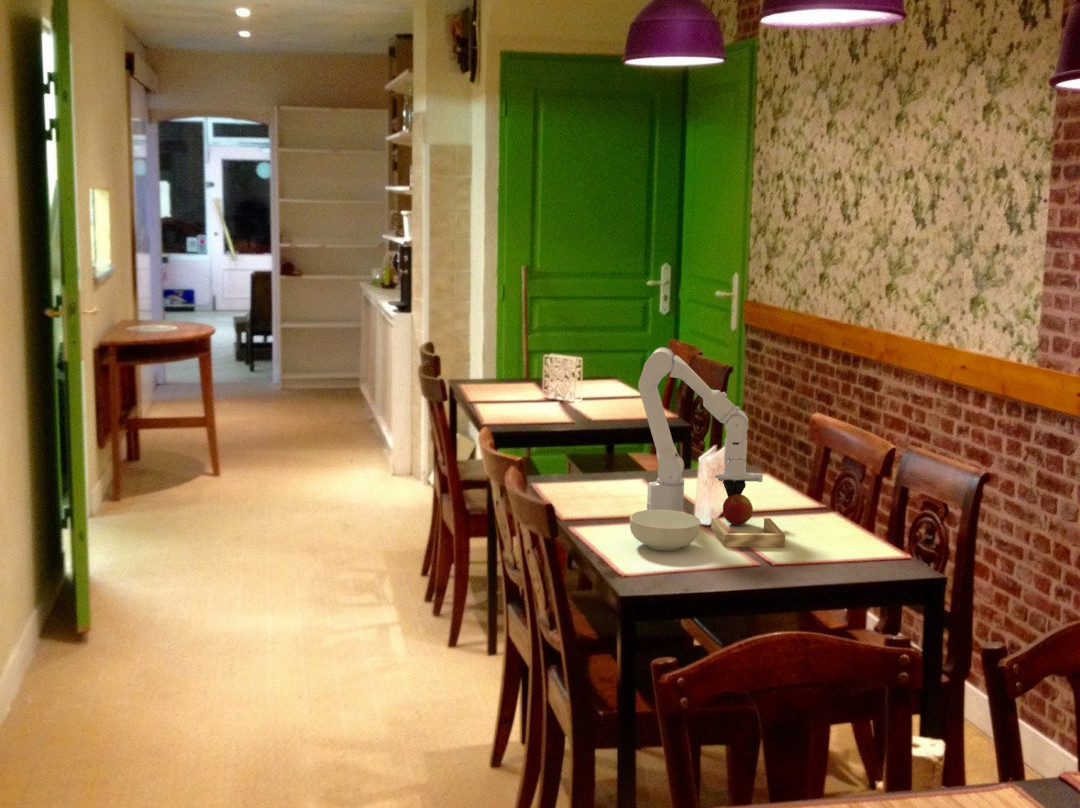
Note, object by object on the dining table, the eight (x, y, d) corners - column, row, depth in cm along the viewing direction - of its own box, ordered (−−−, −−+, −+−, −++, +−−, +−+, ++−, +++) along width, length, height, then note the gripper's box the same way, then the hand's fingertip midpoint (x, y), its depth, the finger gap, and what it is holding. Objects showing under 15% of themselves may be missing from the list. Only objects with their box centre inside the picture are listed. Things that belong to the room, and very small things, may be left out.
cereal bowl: (642, 558, 297) (643, 529, 296) (619, 538, 313) (620, 510, 311) (710, 554, 301) (711, 525, 300) (683, 535, 317) (685, 507, 316)
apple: (715, 522, 330) (717, 492, 328) (743, 519, 333) (744, 489, 331) (730, 529, 323) (732, 499, 321) (758, 527, 326) (759, 496, 324)
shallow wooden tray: (723, 546, 307) (724, 534, 307) (711, 529, 323) (711, 517, 322) (784, 547, 308) (785, 535, 308) (769, 529, 324) (770, 518, 323)
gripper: (710, 460, 326) (708, 512, 328) (766, 461, 327) (763, 512, 329) (705, 454, 333) (703, 505, 335) (759, 455, 334) (757, 505, 336)
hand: (732, 508), depth 332 cm, fingers closed, pressing on apple
